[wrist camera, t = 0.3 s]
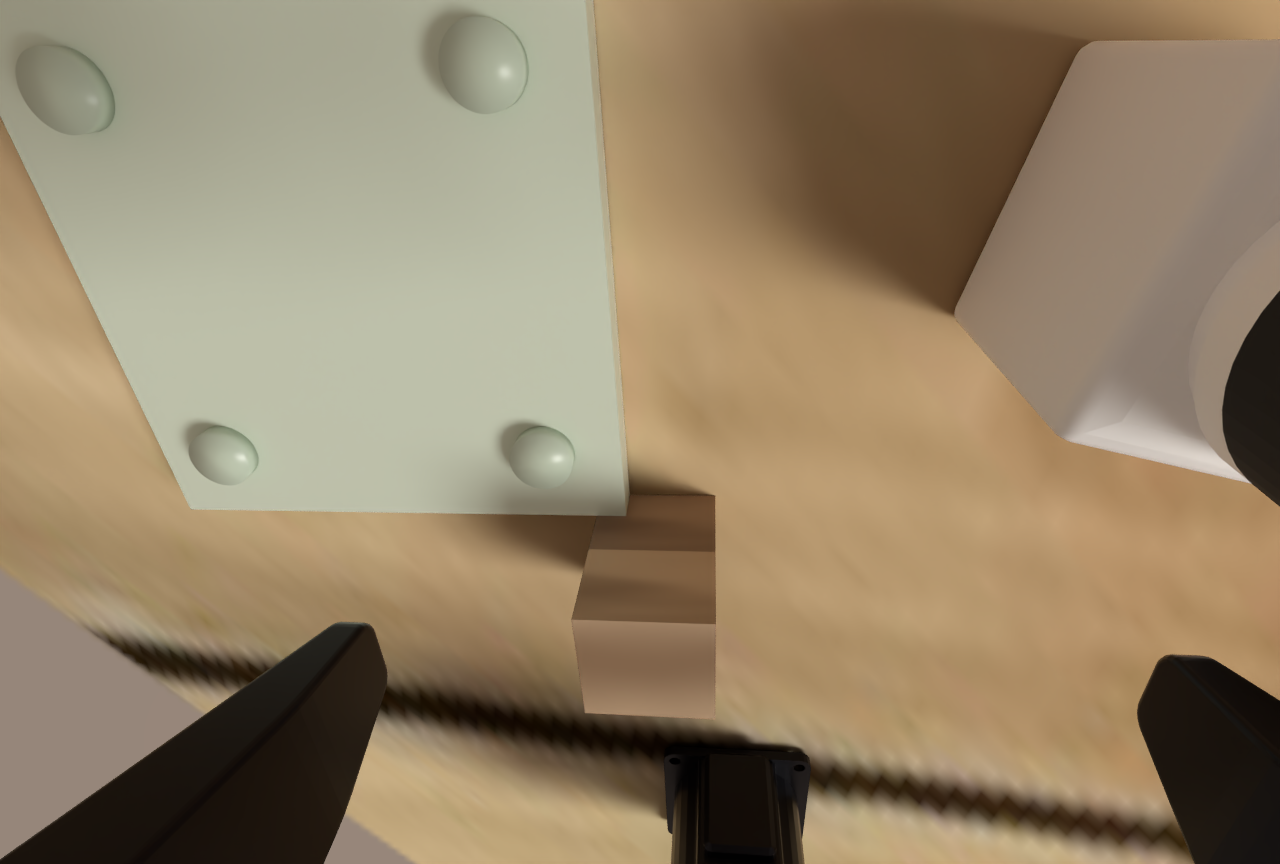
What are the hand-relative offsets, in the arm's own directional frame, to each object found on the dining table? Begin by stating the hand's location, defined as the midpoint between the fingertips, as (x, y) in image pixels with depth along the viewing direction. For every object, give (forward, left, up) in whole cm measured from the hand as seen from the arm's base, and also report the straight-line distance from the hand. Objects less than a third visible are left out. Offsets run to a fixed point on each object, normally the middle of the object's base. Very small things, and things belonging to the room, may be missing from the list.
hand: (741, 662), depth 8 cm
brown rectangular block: (-9, +2, -14) cm, 17 cm away
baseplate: (+1, +11, -14) cm, 18 cm away
